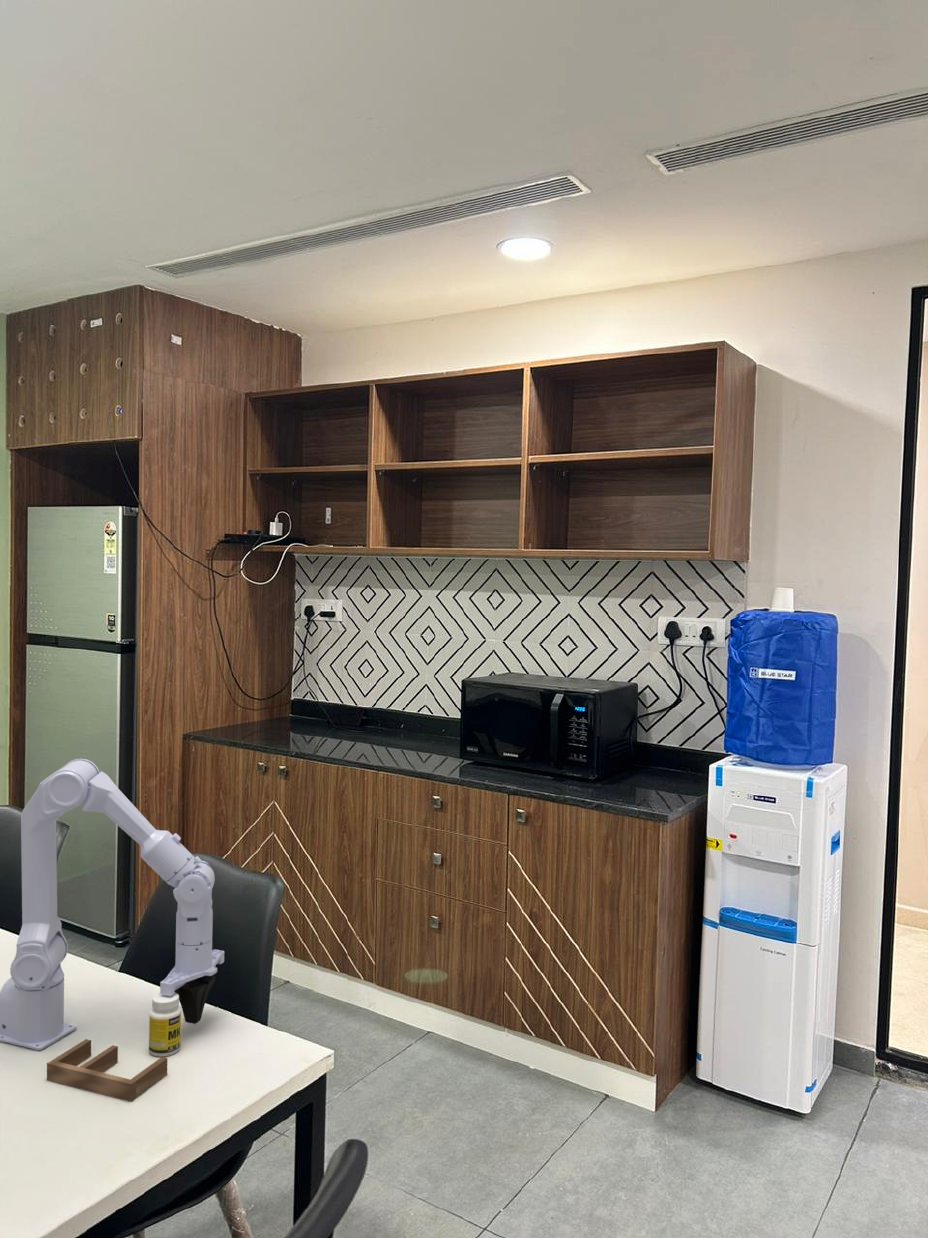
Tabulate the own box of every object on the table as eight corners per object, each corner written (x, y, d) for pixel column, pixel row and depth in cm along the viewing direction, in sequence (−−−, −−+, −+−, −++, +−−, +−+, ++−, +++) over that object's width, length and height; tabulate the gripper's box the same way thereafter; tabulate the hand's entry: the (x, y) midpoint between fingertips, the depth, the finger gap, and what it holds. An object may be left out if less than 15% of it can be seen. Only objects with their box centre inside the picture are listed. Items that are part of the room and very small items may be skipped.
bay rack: (46, 1080, 139) (46, 1063, 139) (85, 1055, 147) (85, 1039, 147) (131, 1102, 134) (131, 1084, 134) (167, 1074, 142) (167, 1058, 141)
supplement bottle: (171, 1059, 146) (171, 1005, 146) (142, 1055, 147) (143, 1002, 147) (186, 1044, 151) (186, 992, 150) (158, 1041, 152) (159, 989, 151)
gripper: (187, 959, 147) (186, 1046, 147) (240, 928, 161) (238, 1007, 161) (149, 952, 149) (148, 1037, 150) (204, 922, 163) (203, 1000, 163)
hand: (192, 1021), depth 156 cm, fingers closed
